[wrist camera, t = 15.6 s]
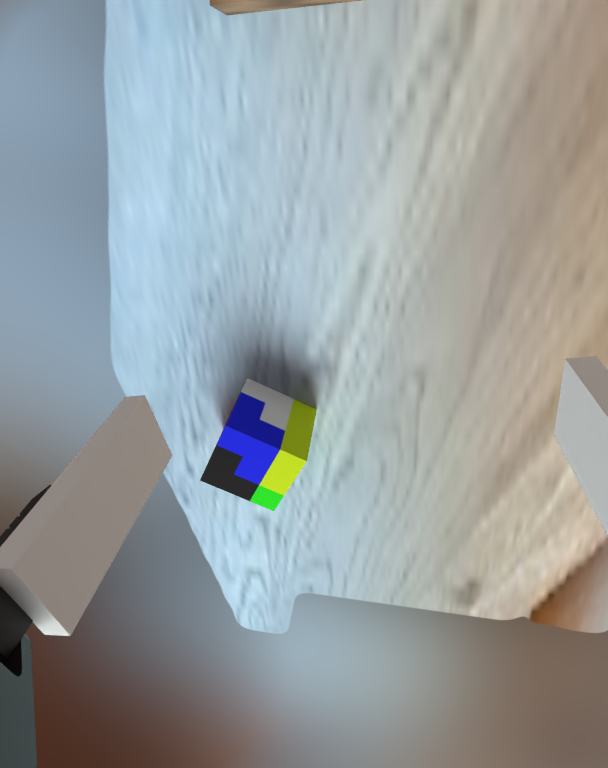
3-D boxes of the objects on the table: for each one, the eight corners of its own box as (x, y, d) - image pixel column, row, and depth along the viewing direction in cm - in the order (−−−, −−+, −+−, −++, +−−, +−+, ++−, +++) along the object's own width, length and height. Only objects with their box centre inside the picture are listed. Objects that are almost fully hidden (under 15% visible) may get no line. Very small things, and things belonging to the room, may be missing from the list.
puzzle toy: (247, 377, 56) (225, 425, 48) (316, 408, 58) (306, 461, 49) (223, 429, 62) (200, 480, 54) (287, 456, 63) (273, 511, 55)
